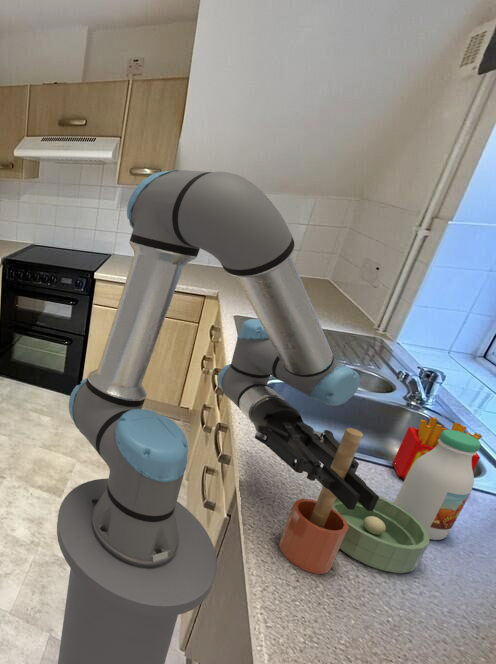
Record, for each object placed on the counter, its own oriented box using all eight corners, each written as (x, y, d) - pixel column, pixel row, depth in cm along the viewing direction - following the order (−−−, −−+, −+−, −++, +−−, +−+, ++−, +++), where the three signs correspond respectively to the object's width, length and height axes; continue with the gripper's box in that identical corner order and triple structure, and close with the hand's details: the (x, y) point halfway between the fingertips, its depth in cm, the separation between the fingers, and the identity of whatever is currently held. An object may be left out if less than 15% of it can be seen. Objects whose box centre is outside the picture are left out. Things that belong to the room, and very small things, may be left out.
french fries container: (459, 499, 84) (490, 442, 80) (399, 481, 89) (425, 426, 84) (447, 479, 90) (475, 425, 85) (391, 463, 95) (415, 410, 90)
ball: (363, 533, 75) (369, 521, 74) (358, 522, 78) (364, 510, 77) (384, 540, 74) (390, 528, 73) (379, 528, 76) (385, 516, 75)
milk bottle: (404, 535, 76) (449, 445, 69) (380, 504, 83) (419, 420, 76) (457, 546, 74) (509, 455, 67) (428, 514, 81) (473, 428, 74)
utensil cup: (281, 561, 70) (297, 521, 67) (277, 531, 76) (291, 492, 73) (334, 581, 67) (353, 540, 64) (325, 548, 73) (342, 508, 70)
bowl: (325, 552, 72) (336, 527, 70) (311, 502, 83) (321, 478, 81) (429, 589, 66) (444, 562, 64) (399, 529, 77) (412, 504, 75)
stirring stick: (300, 550, 70) (347, 433, 62) (298, 541, 72) (344, 426, 64) (314, 555, 70) (364, 437, 61) (312, 546, 71) (361, 430, 63)
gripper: (303, 431, 83) (407, 526, 61) (226, 426, 84) (302, 518, 62) (314, 399, 81) (428, 486, 59) (235, 394, 81) (318, 479, 59)
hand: (363, 503), depth 60 cm, fingers closed on stirring stick, 2 cm apart
